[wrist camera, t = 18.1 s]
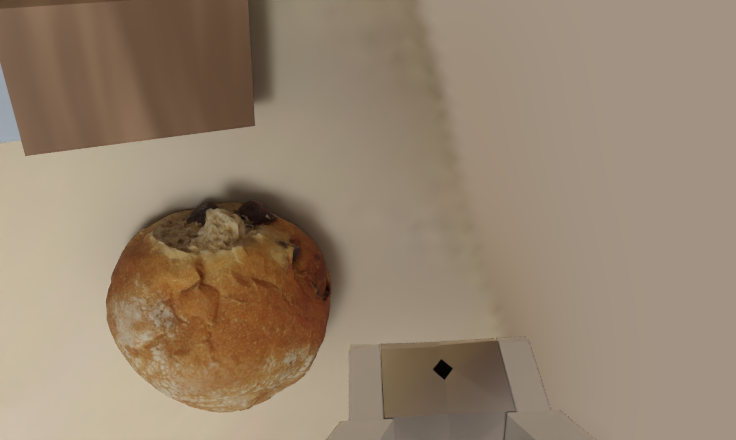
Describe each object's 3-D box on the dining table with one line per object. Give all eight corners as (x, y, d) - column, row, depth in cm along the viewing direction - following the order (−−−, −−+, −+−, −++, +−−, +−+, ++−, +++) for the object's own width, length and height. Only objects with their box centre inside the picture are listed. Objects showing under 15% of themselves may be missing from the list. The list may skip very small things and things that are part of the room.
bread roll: (123, 233, 35) (49, 376, 31) (191, 141, 27) (105, 314, 23) (286, 313, 39) (241, 452, 34) (387, 251, 31) (345, 420, 26)
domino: (247, -8, 23) (-15, 9, 20) (255, 125, 26) (25, 155, 23) (234, -23, 25) (-11, -9, 22) (242, 104, 27) (26, 130, 25)
